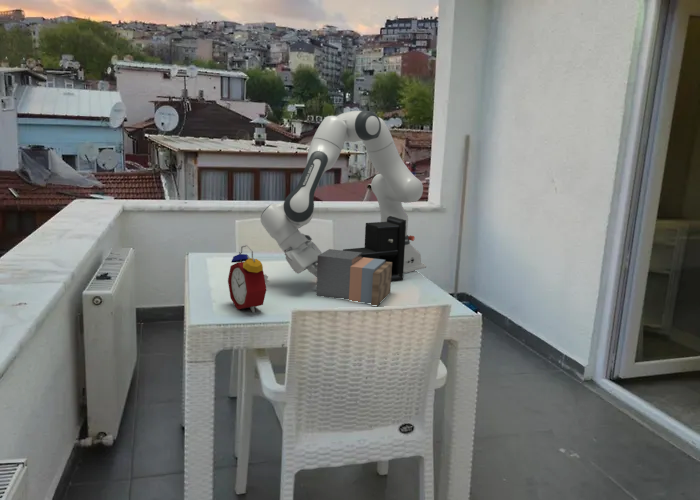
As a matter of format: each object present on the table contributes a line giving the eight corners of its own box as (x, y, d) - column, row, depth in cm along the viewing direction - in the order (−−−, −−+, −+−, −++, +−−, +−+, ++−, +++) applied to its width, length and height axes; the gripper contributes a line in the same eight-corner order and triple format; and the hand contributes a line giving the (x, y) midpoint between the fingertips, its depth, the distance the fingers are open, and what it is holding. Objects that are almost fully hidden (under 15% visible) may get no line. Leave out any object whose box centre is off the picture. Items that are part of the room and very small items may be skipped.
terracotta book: (361, 290, 201) (363, 257, 198) (372, 291, 200) (374, 258, 197) (348, 301, 187) (350, 266, 184) (360, 303, 186) (362, 267, 183)
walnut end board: (384, 291, 200) (386, 261, 198) (390, 292, 199) (392, 262, 197) (371, 305, 183) (373, 273, 181) (377, 306, 182) (379, 273, 180)
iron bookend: (328, 287, 203) (329, 249, 200) (360, 291, 199) (362, 252, 196) (316, 295, 192) (317, 255, 189) (350, 300, 188) (352, 259, 185)
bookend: (350, 286, 205) (353, 222, 200) (336, 279, 214) (338, 217, 209) (403, 280, 216) (407, 220, 211) (388, 274, 225) (391, 215, 221)
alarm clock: (227, 303, 179) (227, 241, 175) (252, 299, 184) (252, 239, 180) (247, 316, 167) (247, 250, 163) (273, 312, 172) (274, 248, 168)
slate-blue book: (372, 291, 200) (374, 258, 197) (383, 293, 199) (385, 259, 196) (360, 303, 186) (362, 267, 183) (372, 304, 184) (374, 269, 182)
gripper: (288, 244, 186) (315, 277, 185) (311, 234, 205) (335, 264, 205) (276, 256, 188) (302, 288, 188) (299, 245, 208) (323, 274, 207)
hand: (320, 275), depth 196 cm, fingers closed
